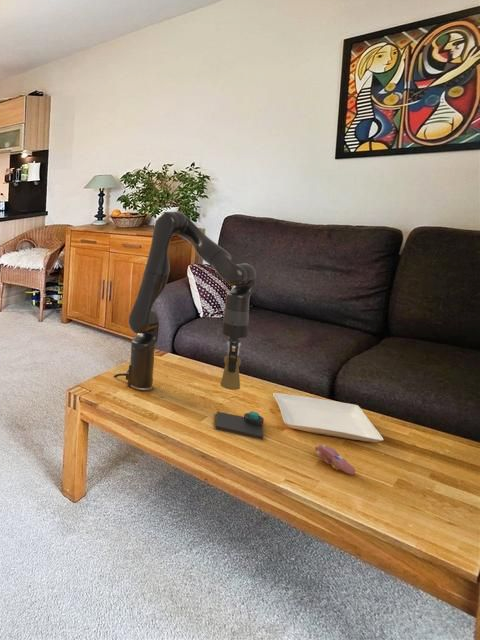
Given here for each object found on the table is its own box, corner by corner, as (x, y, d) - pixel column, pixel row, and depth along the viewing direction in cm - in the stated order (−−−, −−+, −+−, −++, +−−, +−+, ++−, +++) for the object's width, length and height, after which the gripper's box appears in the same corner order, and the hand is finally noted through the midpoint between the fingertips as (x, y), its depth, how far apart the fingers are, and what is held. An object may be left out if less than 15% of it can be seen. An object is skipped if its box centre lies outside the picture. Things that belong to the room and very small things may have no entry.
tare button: (248, 418, 167) (249, 414, 167) (248, 415, 170) (249, 410, 169) (258, 420, 166) (259, 416, 165) (258, 417, 168) (258, 412, 168)
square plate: (356, 413, 176) (358, 403, 176) (383, 450, 152) (385, 439, 151) (271, 399, 188) (272, 390, 187) (283, 432, 163) (284, 421, 162)
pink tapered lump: (317, 461, 148) (309, 443, 147) (330, 455, 148) (322, 437, 147) (344, 481, 139) (336, 462, 138) (358, 474, 139) (350, 455, 138)
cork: (235, 382, 168) (238, 353, 166) (243, 390, 162) (246, 359, 161) (217, 382, 169) (219, 352, 167) (224, 389, 163) (227, 359, 161)
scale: (215, 429, 165) (216, 421, 165) (216, 413, 176) (217, 406, 176) (264, 440, 158) (264, 432, 158) (262, 423, 169) (263, 415, 169)
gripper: (223, 315, 170) (220, 360, 172) (222, 325, 158) (218, 374, 160) (248, 318, 166) (244, 364, 169) (248, 328, 154) (244, 378, 156)
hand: (231, 368), depth 164 cm, fingers closed on cork, 5 cm apart
